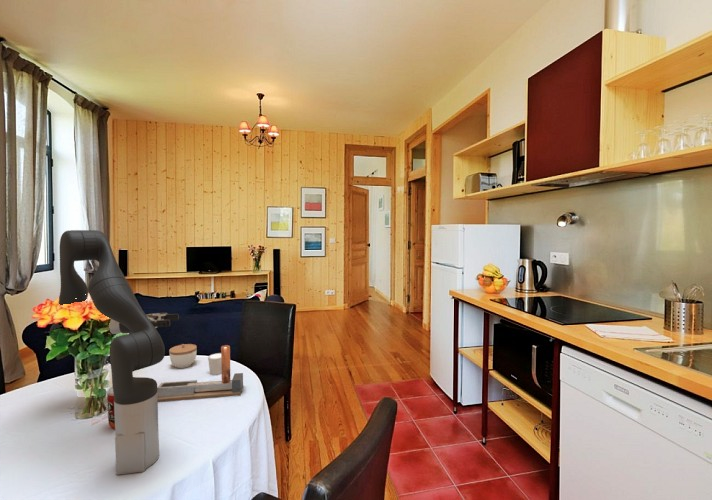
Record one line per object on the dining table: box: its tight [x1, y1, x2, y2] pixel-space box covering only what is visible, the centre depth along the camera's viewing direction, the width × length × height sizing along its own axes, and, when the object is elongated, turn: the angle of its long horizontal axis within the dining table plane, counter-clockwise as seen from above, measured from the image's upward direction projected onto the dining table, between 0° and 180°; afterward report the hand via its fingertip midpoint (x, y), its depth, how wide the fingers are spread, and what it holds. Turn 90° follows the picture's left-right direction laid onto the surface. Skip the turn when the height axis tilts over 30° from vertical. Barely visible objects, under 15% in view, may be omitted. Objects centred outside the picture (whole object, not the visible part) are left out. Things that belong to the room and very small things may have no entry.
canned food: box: [106, 386, 115, 430], centre depth 104 cm, size 8×8×11 cm
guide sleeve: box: [157, 379, 198, 398], centre depth 120 cm, size 5×12×3 cm, turn 101°
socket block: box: [231, 372, 244, 393], centre depth 124 cm, size 6×3×4 cm, turn 11°
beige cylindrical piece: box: [207, 352, 222, 376], centre depth 141 cm, size 7×7×7 cm
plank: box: [158, 386, 244, 403], centre depth 122 cm, size 7×28×1 cm, turn 101°
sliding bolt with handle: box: [187, 344, 232, 392], centre depth 122 cm, size 3×18×16 cm, turn 101°
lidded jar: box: [168, 343, 197, 369], centre depth 147 cm, size 11×11×9 cm
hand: (174, 319), depth 119 cm, fingers open, 8 cm apart
